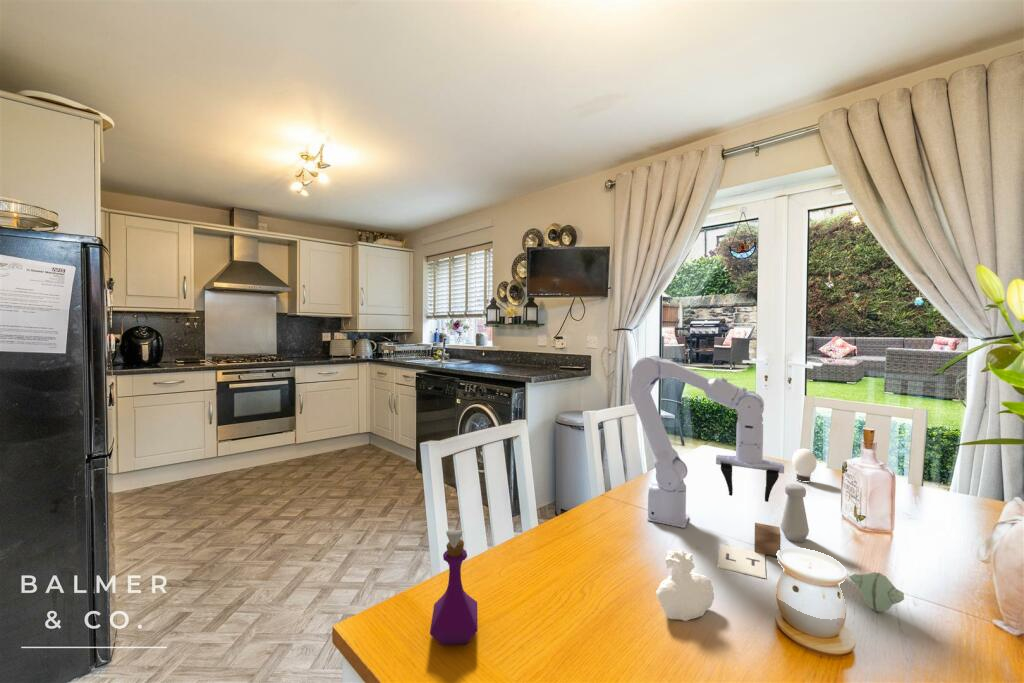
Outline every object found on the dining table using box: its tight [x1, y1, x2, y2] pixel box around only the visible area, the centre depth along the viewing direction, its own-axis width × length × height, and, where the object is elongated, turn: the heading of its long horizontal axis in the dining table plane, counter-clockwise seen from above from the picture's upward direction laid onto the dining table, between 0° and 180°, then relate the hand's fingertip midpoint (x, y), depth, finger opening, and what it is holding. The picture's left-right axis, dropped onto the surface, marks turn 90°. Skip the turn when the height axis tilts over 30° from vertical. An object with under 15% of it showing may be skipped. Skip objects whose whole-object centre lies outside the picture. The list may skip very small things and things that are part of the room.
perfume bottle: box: [429, 529, 479, 646], centre depth 72 cm, size 8×8×18 cm
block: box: [753, 522, 782, 558], centre depth 100 cm, size 5×5×5 cm
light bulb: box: [791, 448, 817, 482], centre depth 146 cm, size 7×7×11 cm
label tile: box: [716, 543, 767, 580], centre depth 96 cm, size 9×11×1 cm
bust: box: [655, 547, 715, 622], centre depth 80 cm, size 12×8×11 cm
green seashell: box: [848, 571, 905, 613], centre depth 79 cm, size 8×4×7 cm, turn 34°
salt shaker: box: [780, 483, 810, 543], centre depth 106 cm, size 6×6×13 cm
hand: (748, 497), depth 106 cm, fingers open, 7 cm apart
